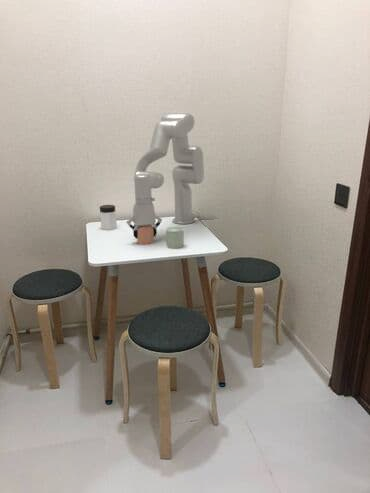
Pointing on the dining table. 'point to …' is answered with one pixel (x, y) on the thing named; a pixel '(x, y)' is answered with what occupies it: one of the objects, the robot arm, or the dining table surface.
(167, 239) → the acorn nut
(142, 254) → the dining table surface
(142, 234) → the peach octagonal canister
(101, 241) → the dining table surface
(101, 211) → the jar
